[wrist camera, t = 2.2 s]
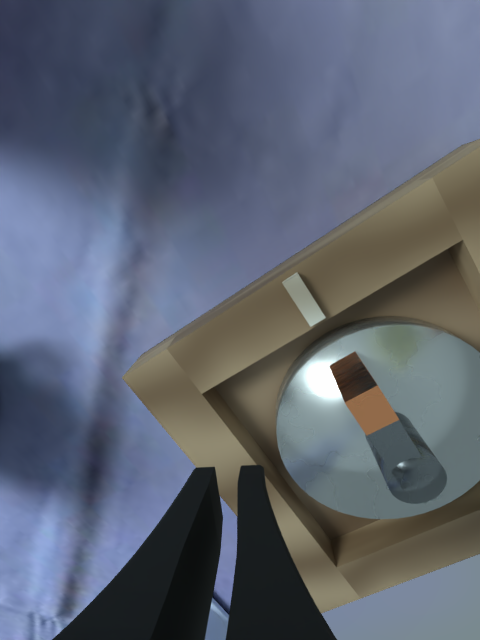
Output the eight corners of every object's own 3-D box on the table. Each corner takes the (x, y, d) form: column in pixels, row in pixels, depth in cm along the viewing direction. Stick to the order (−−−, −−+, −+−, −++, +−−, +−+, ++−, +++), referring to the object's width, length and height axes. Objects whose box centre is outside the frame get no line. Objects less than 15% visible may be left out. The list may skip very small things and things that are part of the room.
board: (602, 448, 20) (669, 494, 17) (312, 568, 25) (319, 623, 21) (462, 145, 16) (513, 127, 13) (141, 354, 20) (117, 382, 17)
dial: (522, 443, 19) (608, 520, 14) (338, 523, 22) (360, 612, 17) (431, 272, 17) (499, 296, 12) (236, 385, 19) (227, 442, 14)
